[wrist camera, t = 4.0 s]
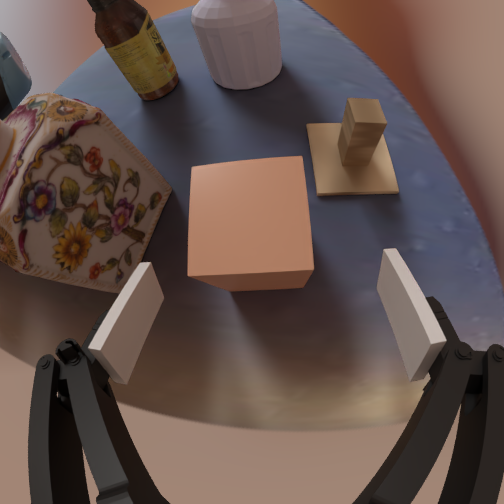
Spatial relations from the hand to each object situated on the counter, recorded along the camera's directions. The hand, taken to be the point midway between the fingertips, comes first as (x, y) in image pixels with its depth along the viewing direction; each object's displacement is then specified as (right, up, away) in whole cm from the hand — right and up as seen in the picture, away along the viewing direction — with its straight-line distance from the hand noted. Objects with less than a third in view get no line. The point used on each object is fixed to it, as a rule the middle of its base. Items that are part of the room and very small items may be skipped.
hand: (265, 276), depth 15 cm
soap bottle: (-1, +24, +14) cm, 28 cm away
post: (+9, +11, +9) cm, 17 cm away
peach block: (0, +1, +9) cm, 9 cm away
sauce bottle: (-13, +24, +16) cm, 31 cm away
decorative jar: (-16, +4, +12) cm, 20 cm away
